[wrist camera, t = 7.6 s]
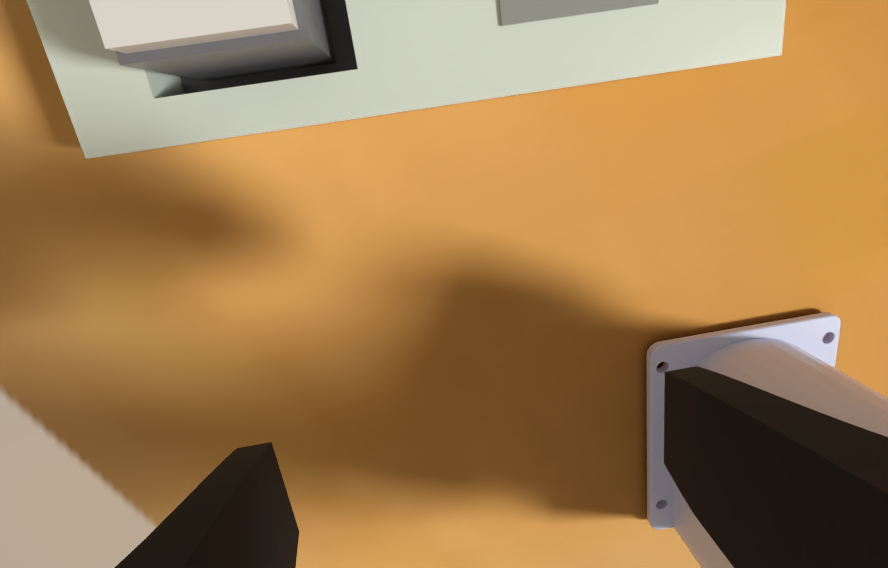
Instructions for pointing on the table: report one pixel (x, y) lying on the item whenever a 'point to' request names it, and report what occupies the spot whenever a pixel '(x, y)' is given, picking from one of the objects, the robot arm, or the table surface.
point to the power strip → (397, 63)
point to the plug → (215, 35)
